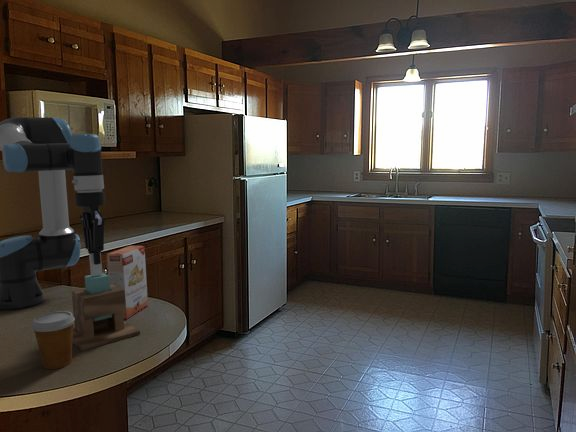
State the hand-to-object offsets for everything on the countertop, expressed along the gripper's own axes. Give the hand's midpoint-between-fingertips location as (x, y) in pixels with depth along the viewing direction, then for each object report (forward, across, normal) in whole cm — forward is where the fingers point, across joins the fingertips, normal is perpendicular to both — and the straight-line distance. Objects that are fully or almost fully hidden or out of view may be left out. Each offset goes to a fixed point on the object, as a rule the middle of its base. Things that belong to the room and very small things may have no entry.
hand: (96, 275), depth 133 cm
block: (+12, 0, 0) cm, 12 cm away
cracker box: (+18, -13, +14) cm, 26 cm away
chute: (+17, 0, 0) cm, 17 cm away
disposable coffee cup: (+18, +12, -15) cm, 26 cm away
